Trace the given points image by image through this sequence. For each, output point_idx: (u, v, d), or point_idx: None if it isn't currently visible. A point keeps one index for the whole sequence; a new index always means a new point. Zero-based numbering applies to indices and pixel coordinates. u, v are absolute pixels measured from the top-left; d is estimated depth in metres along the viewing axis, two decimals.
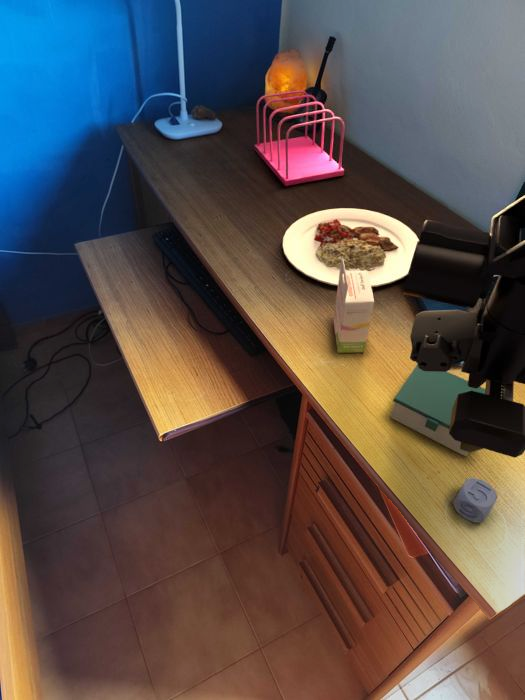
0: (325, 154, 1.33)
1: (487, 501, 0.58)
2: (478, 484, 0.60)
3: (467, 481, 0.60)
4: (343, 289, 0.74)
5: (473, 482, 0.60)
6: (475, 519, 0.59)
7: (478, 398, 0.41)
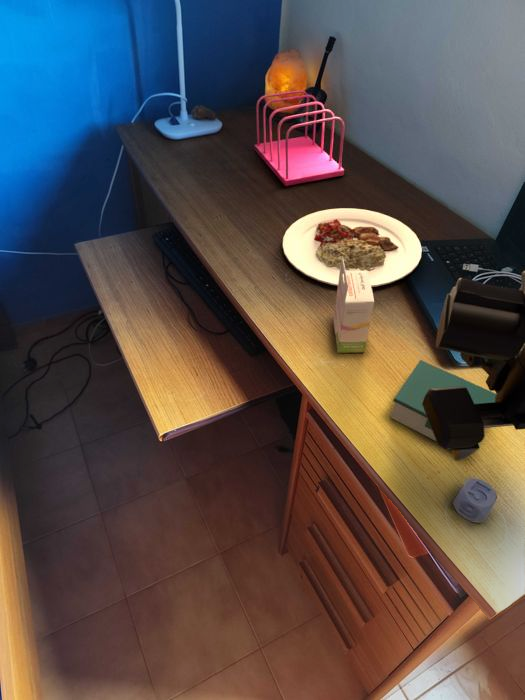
0: (325, 154, 1.33)
1: (487, 501, 0.58)
2: (478, 484, 0.60)
3: (467, 481, 0.60)
4: (343, 289, 0.74)
5: (473, 482, 0.60)
6: (475, 519, 0.59)
7: (461, 393, 0.47)
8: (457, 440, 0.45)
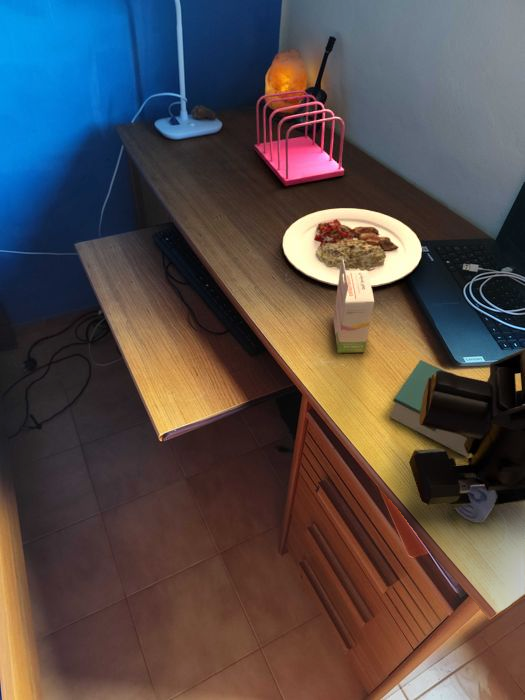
0: (325, 154, 1.33)
1: (487, 501, 0.58)
2: None
3: None
4: (343, 289, 0.74)
5: None
6: (475, 519, 0.59)
7: (442, 456, 0.55)
8: (437, 499, 0.52)
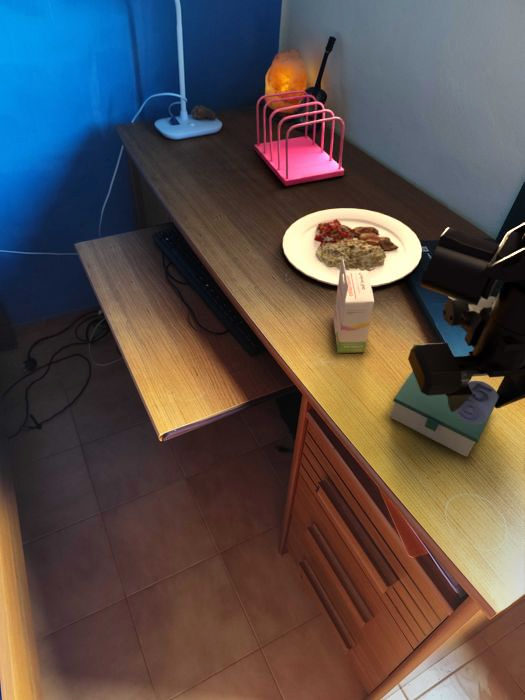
0: (325, 154, 1.33)
1: (489, 400, 0.56)
2: (479, 385, 0.58)
3: (468, 383, 0.58)
4: (343, 289, 0.74)
5: (474, 383, 0.58)
6: (476, 421, 0.58)
7: (442, 347, 0.53)
8: (438, 387, 0.51)
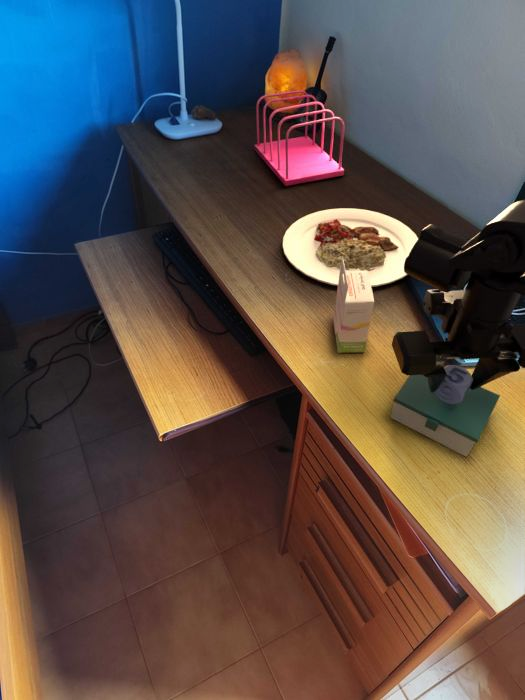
0: (325, 154, 1.33)
1: (463, 382, 0.64)
2: (456, 369, 0.66)
3: (446, 367, 0.66)
4: (343, 289, 0.74)
5: (451, 367, 0.66)
6: (453, 400, 0.65)
7: (421, 333, 0.60)
8: (415, 367, 0.58)
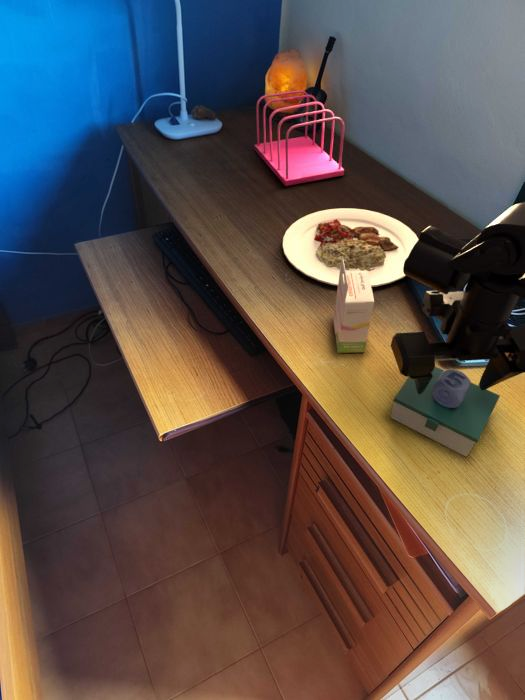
0: (325, 154, 1.33)
1: (461, 386, 0.64)
2: (454, 373, 0.66)
3: (444, 371, 0.66)
4: (343, 289, 0.74)
5: (449, 372, 0.66)
6: (451, 404, 0.66)
7: (420, 335, 0.61)
8: (414, 368, 0.58)
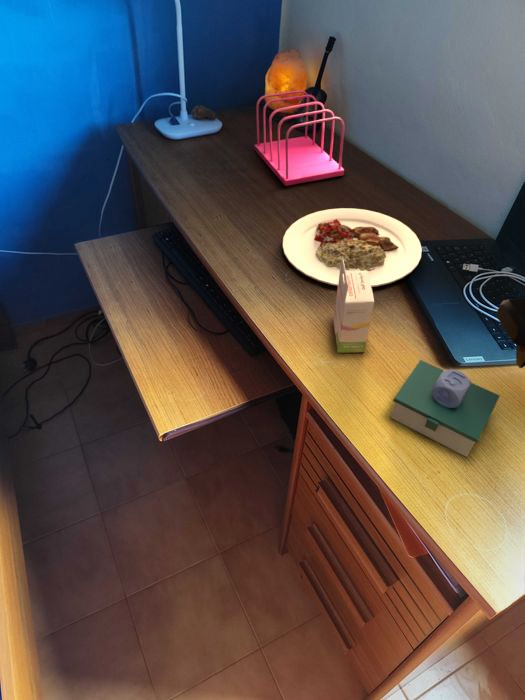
0: (325, 154, 1.33)
1: (461, 386, 0.64)
2: (454, 373, 0.66)
3: (444, 371, 0.66)
4: (343, 289, 0.74)
5: (449, 372, 0.66)
6: (451, 404, 0.66)
7: None
8: None
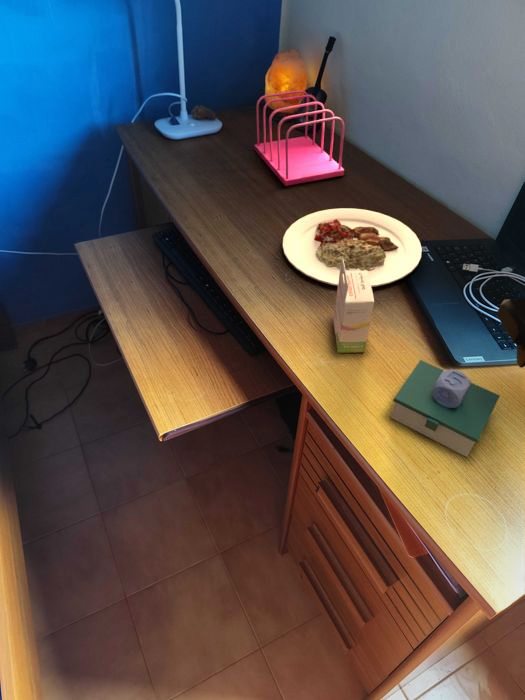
0: (325, 154, 1.33)
1: (461, 386, 0.64)
2: (454, 373, 0.66)
3: (444, 371, 0.66)
4: (343, 289, 0.74)
5: (449, 372, 0.66)
6: (451, 404, 0.66)
7: None
8: None
